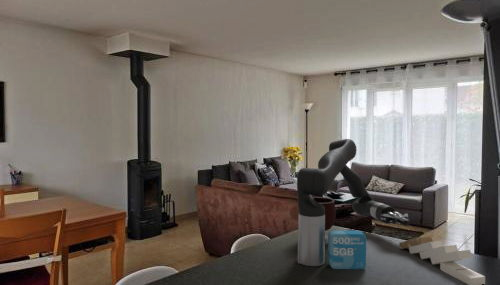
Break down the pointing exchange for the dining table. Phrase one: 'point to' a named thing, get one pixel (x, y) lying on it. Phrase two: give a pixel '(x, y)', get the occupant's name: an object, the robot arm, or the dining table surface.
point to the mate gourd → (327, 212)
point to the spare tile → (415, 242)
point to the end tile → (462, 273)
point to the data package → (346, 249)
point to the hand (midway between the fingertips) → (407, 223)
